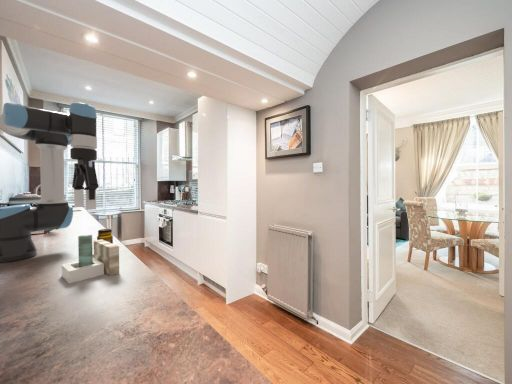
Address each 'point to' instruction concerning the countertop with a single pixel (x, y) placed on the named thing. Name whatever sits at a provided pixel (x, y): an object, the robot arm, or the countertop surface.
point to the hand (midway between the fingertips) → (84, 208)
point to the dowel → (85, 250)
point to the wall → (107, 256)
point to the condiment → (105, 235)
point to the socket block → (82, 271)
